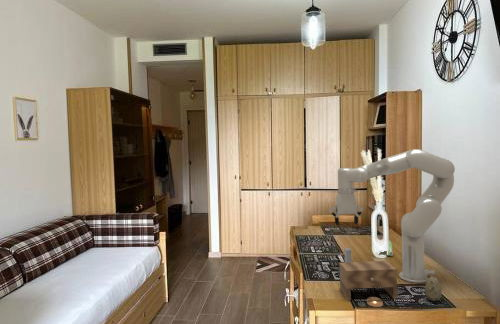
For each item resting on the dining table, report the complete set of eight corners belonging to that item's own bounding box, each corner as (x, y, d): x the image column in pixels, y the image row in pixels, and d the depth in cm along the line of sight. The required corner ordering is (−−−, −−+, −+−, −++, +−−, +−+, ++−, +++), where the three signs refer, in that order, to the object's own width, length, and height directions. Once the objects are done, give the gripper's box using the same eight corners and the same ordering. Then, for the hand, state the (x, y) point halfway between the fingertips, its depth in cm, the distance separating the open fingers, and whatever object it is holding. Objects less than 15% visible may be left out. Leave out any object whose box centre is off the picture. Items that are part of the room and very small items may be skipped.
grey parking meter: (353, 270, 165) (353, 247, 165) (368, 285, 146) (367, 259, 146) (340, 270, 165) (339, 248, 165) (352, 286, 146) (352, 260, 146)
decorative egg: (435, 297, 133) (435, 273, 132) (445, 303, 127) (444, 279, 127) (422, 297, 133) (421, 274, 132) (430, 304, 127) (430, 279, 126)
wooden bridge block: (386, 288, 143) (386, 260, 142) (398, 299, 132) (397, 269, 131) (340, 290, 142) (339, 262, 142) (347, 301, 132) (347, 271, 131)
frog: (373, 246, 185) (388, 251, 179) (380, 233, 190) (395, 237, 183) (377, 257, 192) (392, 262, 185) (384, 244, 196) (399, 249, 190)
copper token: (379, 300, 132) (379, 296, 132) (385, 307, 126) (385, 303, 126) (365, 300, 132) (365, 297, 132) (369, 307, 126) (369, 303, 126)
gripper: (359, 190, 167) (360, 222, 168) (327, 191, 167) (328, 223, 167) (365, 192, 160) (366, 225, 160) (331, 193, 159) (331, 226, 160)
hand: (346, 224), depth 164 cm, fingers open, 9 cm apart
